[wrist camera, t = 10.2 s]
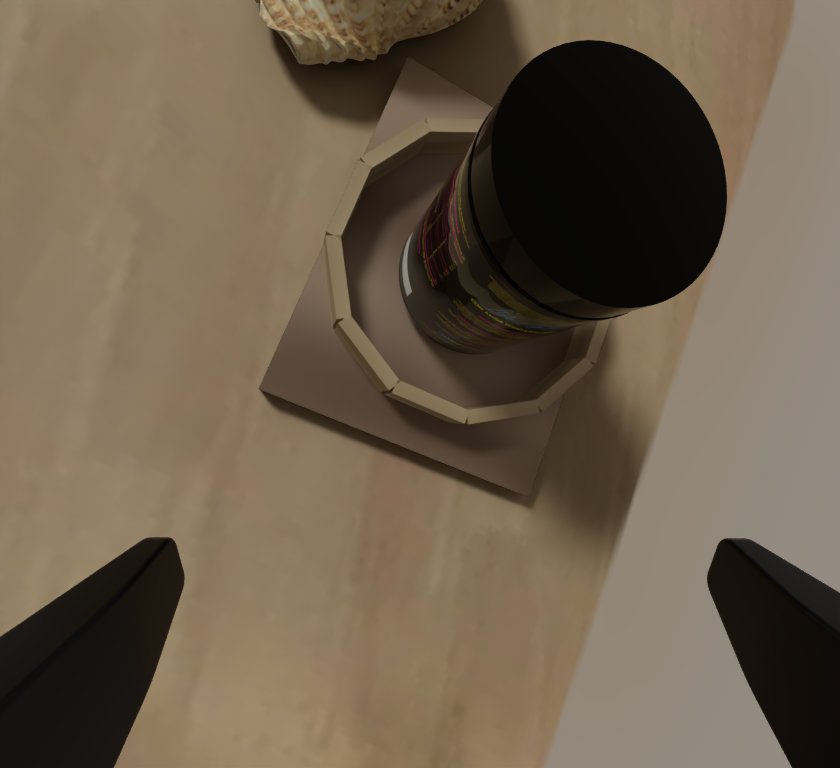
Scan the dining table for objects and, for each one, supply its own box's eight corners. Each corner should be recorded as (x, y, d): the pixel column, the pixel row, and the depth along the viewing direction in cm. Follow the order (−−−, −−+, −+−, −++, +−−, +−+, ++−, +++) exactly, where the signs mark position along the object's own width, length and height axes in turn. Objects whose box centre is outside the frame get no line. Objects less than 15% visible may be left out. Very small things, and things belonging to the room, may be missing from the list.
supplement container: (541, 353, 20) (741, 305, 11) (400, 362, 18) (504, 314, 9) (527, 211, 20) (713, 53, 11) (387, 208, 18) (476, 22, 10)
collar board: (519, 494, 20) (548, 504, 18) (259, 390, 18) (256, 386, 15) (621, 199, 22) (658, 176, 20) (403, 70, 20) (418, 27, 18)
